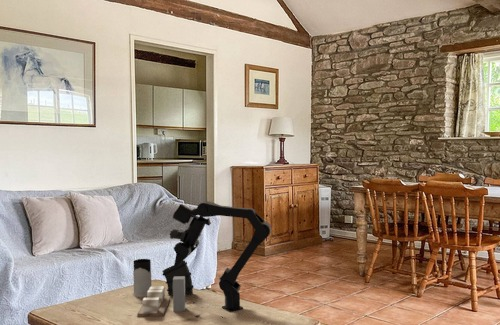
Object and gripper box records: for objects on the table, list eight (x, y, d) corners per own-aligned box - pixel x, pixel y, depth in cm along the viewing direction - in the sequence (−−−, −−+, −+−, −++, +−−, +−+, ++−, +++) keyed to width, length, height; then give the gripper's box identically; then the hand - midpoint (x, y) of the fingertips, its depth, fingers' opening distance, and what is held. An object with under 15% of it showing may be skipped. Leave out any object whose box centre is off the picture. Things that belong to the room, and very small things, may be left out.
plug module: (185, 307, 198) (184, 276, 197) (184, 311, 193) (183, 279, 193) (174, 307, 197) (173, 276, 197) (172, 311, 193) (172, 279, 193)
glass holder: (130, 296, 213) (129, 263, 212) (138, 287, 227) (138, 255, 227) (150, 296, 213) (149, 263, 212) (157, 287, 227) (156, 255, 226)
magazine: (197, 292, 213) (183, 261, 213) (172, 303, 215) (157, 273, 216) (200, 289, 216) (185, 259, 217) (174, 301, 219) (160, 271, 219)
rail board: (169, 299, 208) (169, 285, 208) (163, 316, 188) (162, 300, 188) (146, 300, 208) (146, 285, 208) (137, 316, 188) (137, 300, 188)
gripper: (183, 217, 207) (167, 249, 208) (171, 224, 188) (154, 259, 190) (206, 229, 206) (190, 261, 207) (196, 237, 187) (178, 272, 189)
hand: (178, 263), depth 198 cm, fingers open, 9 cm apart
